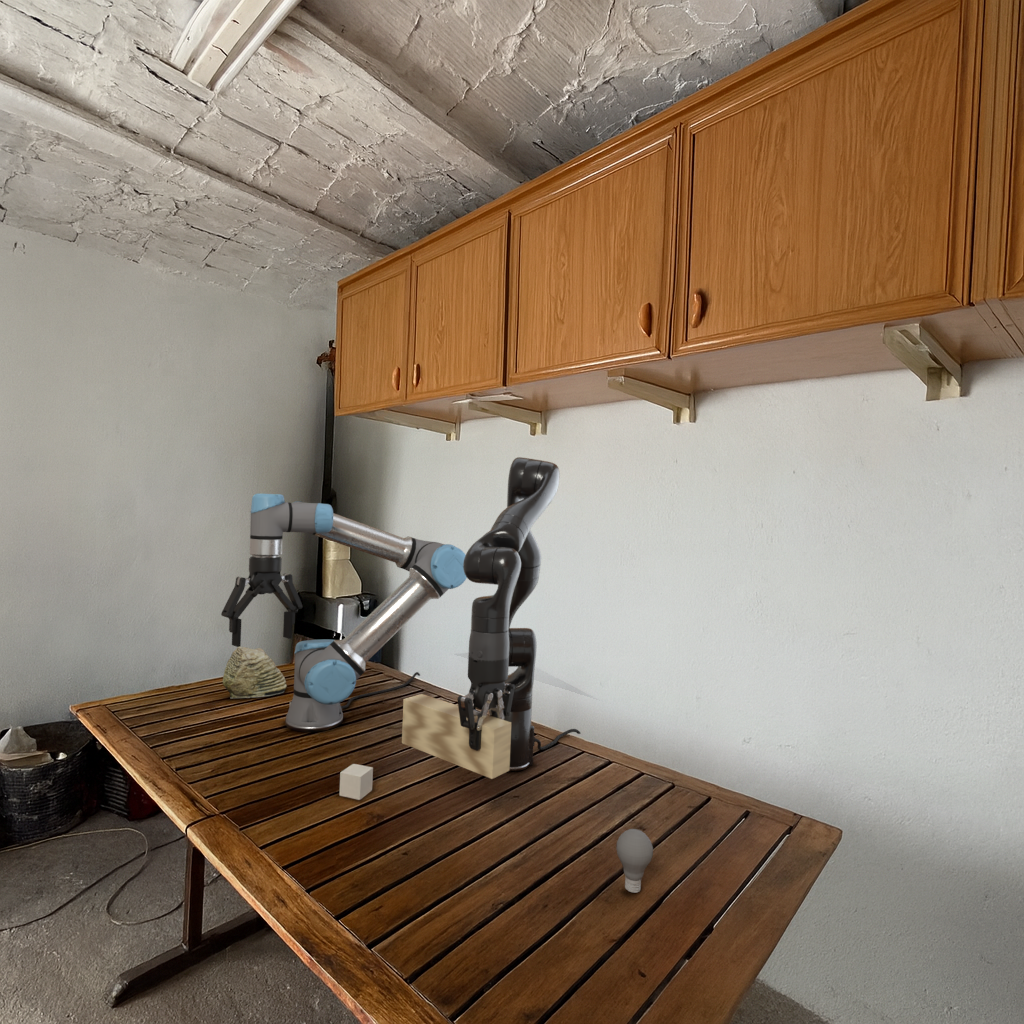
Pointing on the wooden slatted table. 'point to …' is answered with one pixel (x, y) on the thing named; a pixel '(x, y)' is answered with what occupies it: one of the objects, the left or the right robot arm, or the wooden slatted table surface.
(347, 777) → the white cube
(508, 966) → the wooden slatted table surface
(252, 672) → the fossil
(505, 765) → the ash bar
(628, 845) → the light bulb
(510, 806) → the wooden slatted table surface
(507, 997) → the wooden slatted table surface
